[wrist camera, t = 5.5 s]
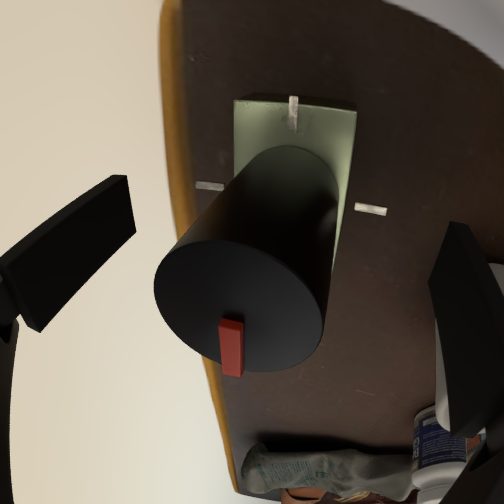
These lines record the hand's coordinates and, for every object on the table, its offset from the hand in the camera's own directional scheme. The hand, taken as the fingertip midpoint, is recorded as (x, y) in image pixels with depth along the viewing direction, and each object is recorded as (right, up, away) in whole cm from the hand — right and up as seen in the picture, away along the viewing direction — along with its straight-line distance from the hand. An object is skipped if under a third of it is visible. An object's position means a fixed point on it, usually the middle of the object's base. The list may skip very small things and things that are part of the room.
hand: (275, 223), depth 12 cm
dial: (+1, +1, +2) cm, 3 cm away
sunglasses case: (+9, -43, +34) cm, 55 cm away
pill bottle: (+18, -17, +13) cm, 28 cm away
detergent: (+11, -27, +22) cm, 36 cm away
